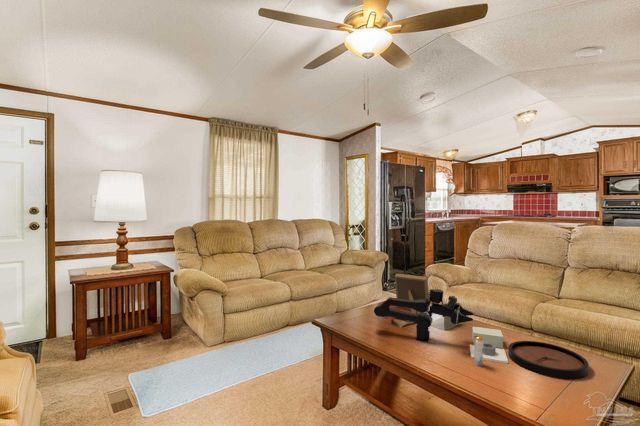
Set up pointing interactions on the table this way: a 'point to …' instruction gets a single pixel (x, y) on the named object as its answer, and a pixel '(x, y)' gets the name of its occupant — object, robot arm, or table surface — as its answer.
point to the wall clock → (548, 360)
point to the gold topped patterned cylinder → (478, 350)
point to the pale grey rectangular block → (443, 323)
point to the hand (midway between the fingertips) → (473, 316)
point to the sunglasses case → (401, 322)
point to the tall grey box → (411, 288)
